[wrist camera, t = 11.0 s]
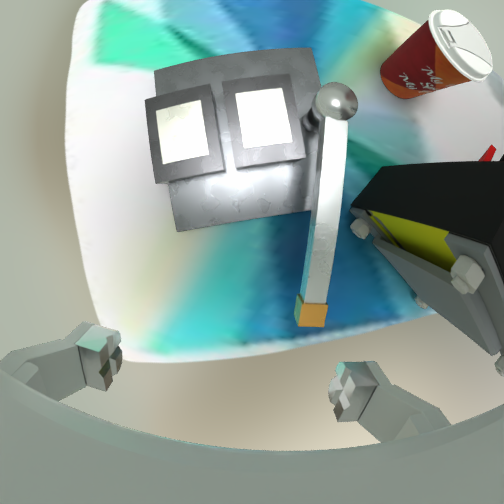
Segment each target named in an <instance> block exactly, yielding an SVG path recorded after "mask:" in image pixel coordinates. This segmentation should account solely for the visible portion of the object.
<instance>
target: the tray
mask: <svg viewBox="0 0 504 504" xmlns="http://www.w3.org/2000/svg"><path fill="white" fill-rule="evenodd" d="M154 76H155V88H156V97H153V98H149V99H146V100H145V107H146V117H147V126H148V135H149V143H150V150H151V157H152V164H153V171H154V177H155V183H156V184H168V186H169V192H170V198H171V203H172V209H173V214H174V219H175V224H176V229H177V232H180V231H185V230H191V229H196V228H202V227H208V226H214V225H219V224H225V223H231V222H237V221H243V220H249V219H256V218H262V217H268V216H275V215H282V214H288V213H295V212H302V211H309V210H312V201H313V192H314V182H315V172H316V161H317V149H318V136H319V122H320V121H319V120H318V119H317V118H316V117H315V115H314V113H313V111H312V100H313V98H314V96H315V95H316V94H317V93H318V92H319V90H320V89H321V84H320V80H319V76H318V72H317V68H316V64H315V60H314V56H313V53H312V49H311V48H284V49H269V50H258V51H249V52H241V53H233V54H227V55H221V56H215V57H209V58H204V59H199V60H195V61H190V62H186V63H182V64H178V65H174V66H170V67H166V68H162V69H159V70H156V71H154Z"/></svg>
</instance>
